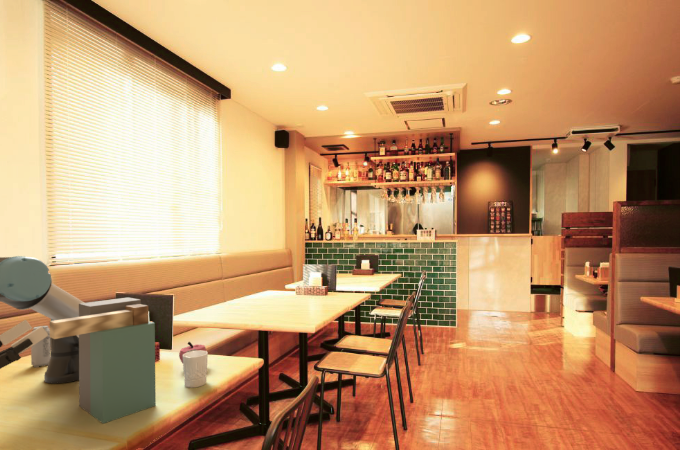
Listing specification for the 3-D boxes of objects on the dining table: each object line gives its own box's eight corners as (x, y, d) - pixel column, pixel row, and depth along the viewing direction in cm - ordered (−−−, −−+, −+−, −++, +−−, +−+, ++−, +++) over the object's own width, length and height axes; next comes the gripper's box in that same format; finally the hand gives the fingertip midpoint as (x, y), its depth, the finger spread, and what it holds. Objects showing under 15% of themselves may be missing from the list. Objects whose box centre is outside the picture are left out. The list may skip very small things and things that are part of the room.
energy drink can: (37, 363, 160) (37, 325, 161) (53, 362, 161) (53, 325, 161) (27, 368, 154) (27, 329, 155) (44, 367, 155) (44, 328, 155)
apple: (177, 374, 143) (177, 346, 144) (181, 366, 152) (180, 340, 152) (205, 371, 146) (205, 343, 146) (207, 364, 154) (207, 338, 154)
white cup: (200, 389, 129) (199, 357, 129) (178, 387, 130) (177, 356, 131) (212, 380, 136) (212, 350, 137) (191, 379, 138) (191, 350, 138)
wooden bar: (55, 339, 100) (55, 319, 100) (48, 336, 104) (48, 316, 104) (148, 322, 117) (148, 305, 118) (139, 320, 121) (139, 303, 121)
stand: (103, 423, 106) (102, 309, 107) (79, 406, 118) (78, 303, 118) (155, 405, 117) (154, 302, 118) (129, 391, 128) (128, 297, 129)
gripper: (-65, 393, 94) (31, 332, 109) (-49, 422, 78) (62, 346, 93) (-88, 369, 91) (14, 310, 106) (-76, 394, 75) (42, 321, 90)
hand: (36, 326), depth 99 cm, fingers open, 13 cm apart
